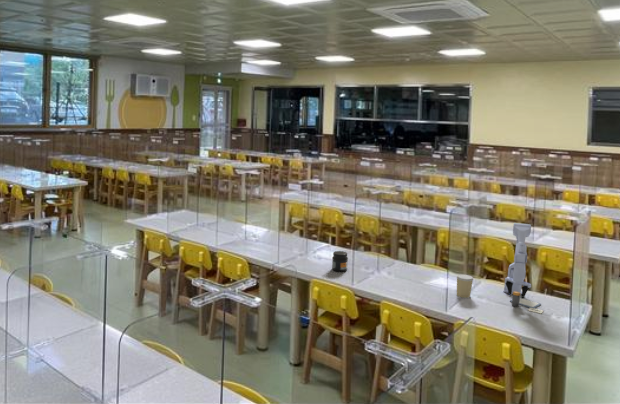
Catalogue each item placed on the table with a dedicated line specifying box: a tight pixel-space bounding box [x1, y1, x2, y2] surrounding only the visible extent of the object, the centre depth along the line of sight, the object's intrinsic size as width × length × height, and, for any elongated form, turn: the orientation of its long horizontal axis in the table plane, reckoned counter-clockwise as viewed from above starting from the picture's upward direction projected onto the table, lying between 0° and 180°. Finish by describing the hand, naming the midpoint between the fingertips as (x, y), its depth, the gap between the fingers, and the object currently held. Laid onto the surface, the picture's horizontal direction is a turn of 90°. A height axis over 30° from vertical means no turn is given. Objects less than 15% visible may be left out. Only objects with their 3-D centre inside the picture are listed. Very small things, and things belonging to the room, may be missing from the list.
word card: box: [527, 308, 544, 314], centre depth 295 cm, size 7×5×1 cm
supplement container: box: [331, 250, 349, 273], centre depth 354 cm, size 10×10×12 cm
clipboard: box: [509, 297, 542, 309], centre depth 306 cm, size 14×10×1 cm
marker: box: [511, 292, 522, 308], centre depth 301 cm, size 4×4×8 cm
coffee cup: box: [456, 273, 474, 299], centre depth 314 cm, size 9×9×12 cm
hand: (516, 296), depth 300 cm, fingers open, 7 cm apart
